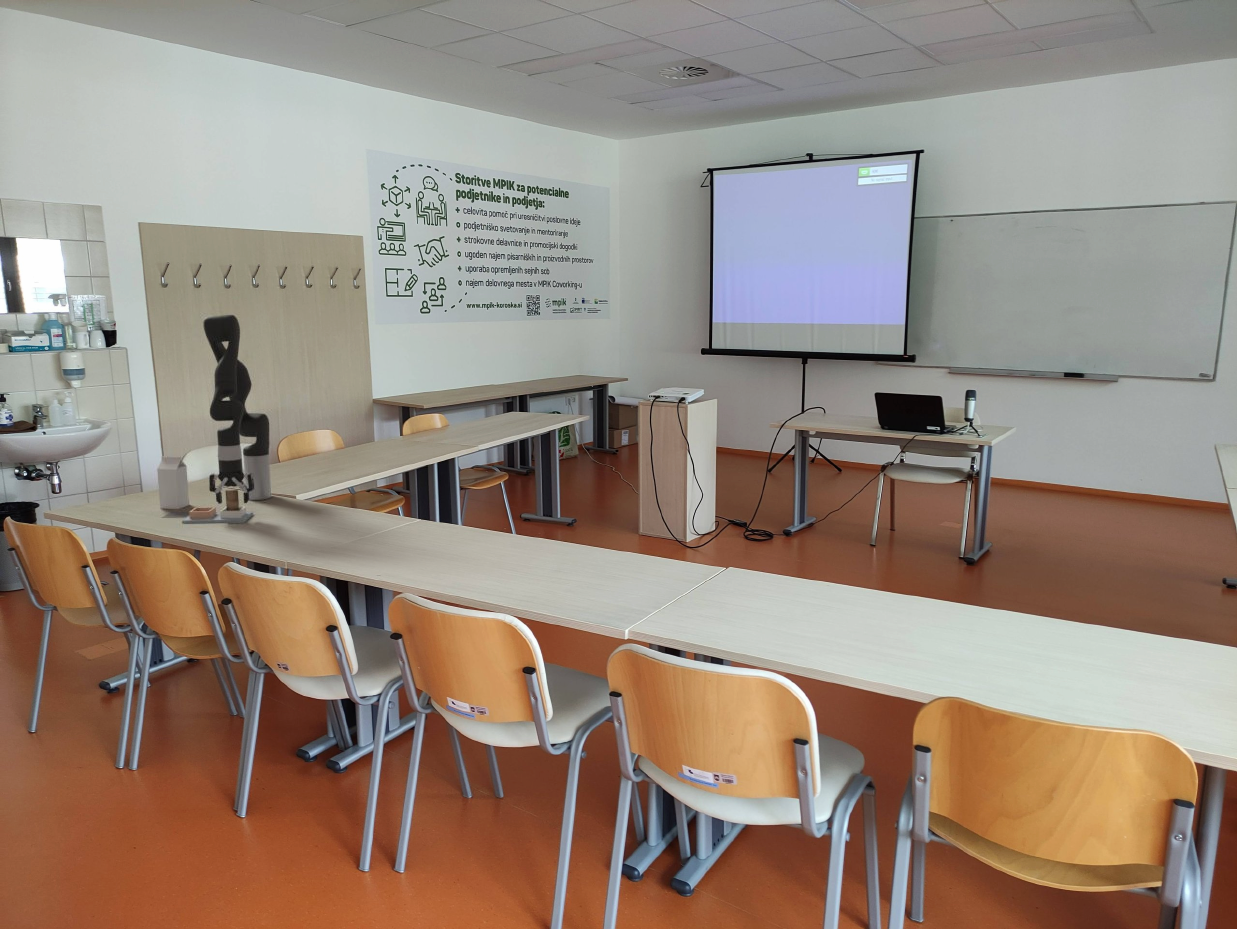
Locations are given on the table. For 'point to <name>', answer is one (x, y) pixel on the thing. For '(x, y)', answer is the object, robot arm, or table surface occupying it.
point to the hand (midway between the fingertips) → (233, 503)
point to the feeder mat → (177, 514)
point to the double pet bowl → (217, 515)
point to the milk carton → (172, 483)
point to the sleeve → (232, 500)
